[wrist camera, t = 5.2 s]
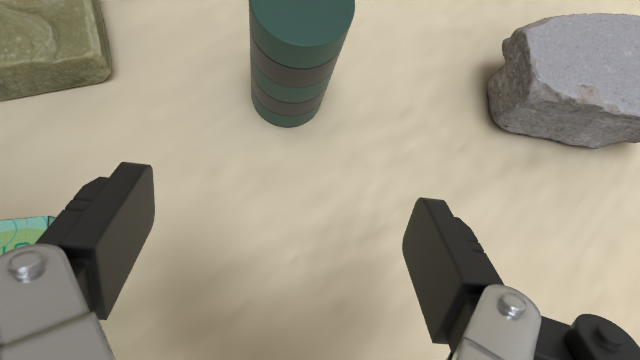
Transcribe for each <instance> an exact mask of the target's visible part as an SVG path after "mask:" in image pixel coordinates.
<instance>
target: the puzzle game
mask: <svg viewBox="0 0 640 360" xmlns="http://www.w3.org/2000/svg"><path fill="white" fill-rule="evenodd" d="M55 219H56V218H55V217H51V216H43V217H31V218H19V219H7V220H0V255H2V254H3V253H5V252H7V251H9V250H12V249H14V248H17V247H20V246H25V245H30V244H34V243H35V242H36V241H37V240H38V239H39V238H40V236H41V235H42V234H43V233H44V232H45V231H46V229H47V228H48V227H49V226H50V225H51V223H52V222H53V221H54V220H55Z"/></svg>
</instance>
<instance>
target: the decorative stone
mask: <svg viewBox="0 0 640 360" xmlns="http://www.w3.org/2000/svg"><path fill="white" fill-rule="evenodd" d="M502 51H503V56H504V58H505V64H504V66H503V67H502V68H501V69H500V70H499V71H498V73H497V74H495V75H493V76H492V77H491V79H490V81H489V82H488V87H487V95H488V100H489V111H490V114H491V116H492V119H493V121H494V122H495V123H496V124H497V125H499V127H501V128H503V129H504V130H506V131H509V132H513V133H518V134H519V135H521V134H523V135H529V136H533V137H541V138H546V139H550V140H556V141H557V142H562V143H565V144H568V145H581V146H587V147H589V148H600V147H603V146H605V145H608V144H613V143H618V142H622V141H623V142H629V143H638V142H640V16H638V15H628V14H608V13H595V14H586V13H585V14H572V15H562V16H555V17H549V18H544V19H541V20H539V21H536V22H534V23H531V24H528V25H526V26H524V27H521V28H518V29H516V30H515V31H514V33H513V34H512V35H511V37H510V38H507V39H505V40H503V43H502Z"/></svg>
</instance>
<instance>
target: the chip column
mask: <svg viewBox="0 0 640 360" xmlns="http://www.w3.org/2000/svg"><path fill="white" fill-rule="evenodd" d="M354 11H355V0H249V23H250V59H251V95H252V101H253V104H254V106H255V108H256V110H257V112H258V113H259V114H260V115H261V116H262V117H263V118H264V119H265V120H267V121H268V122H270V123H272V124H274V125H277V126H281V127H295V126H299V125H302V124H304V123H306V122H308V121H309V120H310V119H311V118H312V117H313V116H314V115H315V114H316V112H317V111H318V109H319V106H320V104H321V101H322V99H323V96H324V93H325V91H326V88H327V85H328V83H329V80H330V78H331V75H332V72H333V70H334V67H335V64H336V62H337V59H338V56H339V54H340V51H341V49H342V46H343V43H344V41H345V38H346V35H347V33H348V30H349V28H350V25H351V22H352V20H353V16H354Z"/></svg>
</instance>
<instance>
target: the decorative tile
mask: <svg viewBox="0 0 640 360" xmlns="http://www.w3.org/2000/svg"><path fill="white" fill-rule="evenodd" d="M111 60H112V59H111V56H110V52H109V45H108V41H107V36H106V31H105V26H104V21H103V19H102V16H101V9H100V3H99V0H0V101H2V100H7V99H12V98H18V97H24V96H30V95H35V94H40V93H43V92H49V91H56V90H61V89H65V88H70V87H78V86H82V85H86V84H95V83H99V82H102V81H105V80H106V78H107V77H108V75H109V74H110V73H111V72H112V69H111Z"/></svg>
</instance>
